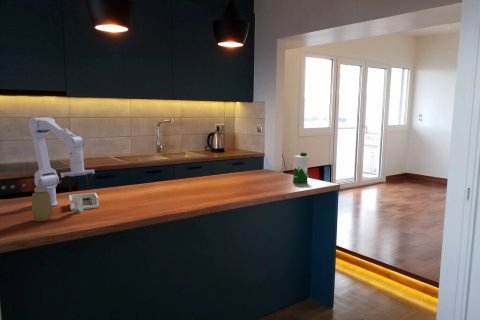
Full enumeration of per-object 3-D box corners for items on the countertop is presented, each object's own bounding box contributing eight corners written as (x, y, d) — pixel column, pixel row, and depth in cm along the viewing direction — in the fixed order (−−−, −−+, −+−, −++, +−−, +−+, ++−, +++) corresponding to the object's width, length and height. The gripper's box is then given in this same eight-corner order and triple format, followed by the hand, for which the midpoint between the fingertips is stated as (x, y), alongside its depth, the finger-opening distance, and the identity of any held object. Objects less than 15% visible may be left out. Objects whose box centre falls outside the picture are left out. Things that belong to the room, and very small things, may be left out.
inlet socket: (76, 207, 178) (76, 202, 178) (76, 203, 185) (75, 198, 184) (92, 205, 181) (91, 200, 181) (90, 202, 188) (90, 197, 187)
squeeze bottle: (56, 217, 165) (53, 177, 162) (47, 222, 157) (44, 181, 154) (38, 217, 164) (35, 177, 162) (28, 222, 156) (25, 181, 154)
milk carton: (309, 183, 245) (310, 153, 242) (298, 184, 241) (298, 154, 238) (301, 180, 252) (302, 152, 250) (290, 181, 249) (291, 152, 246)
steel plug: (74, 213, 170) (74, 199, 169) (74, 211, 173) (73, 197, 172) (83, 212, 172) (82, 198, 171) (82, 210, 175) (82, 196, 174)
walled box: (70, 210, 175) (70, 200, 174) (69, 204, 186) (69, 195, 185) (98, 207, 180) (98, 197, 180) (96, 201, 191) (95, 192, 191)
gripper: (60, 164, 164) (63, 194, 165) (94, 161, 171) (97, 189, 172) (59, 163, 170) (62, 192, 171) (92, 160, 177) (94, 187, 178)
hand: (79, 190), depth 172 cm, fingers open, 7 cm apart
